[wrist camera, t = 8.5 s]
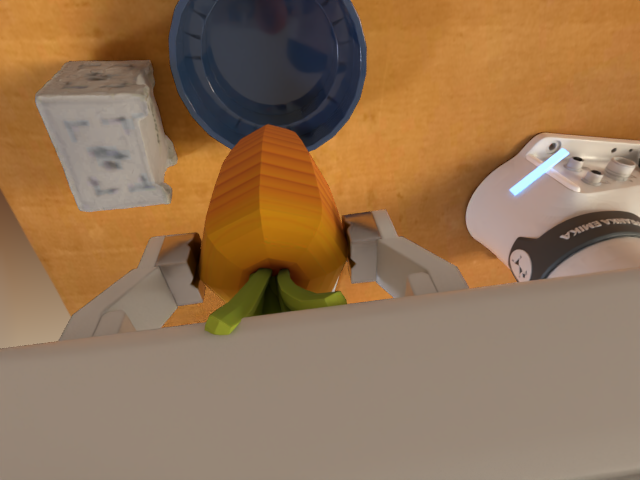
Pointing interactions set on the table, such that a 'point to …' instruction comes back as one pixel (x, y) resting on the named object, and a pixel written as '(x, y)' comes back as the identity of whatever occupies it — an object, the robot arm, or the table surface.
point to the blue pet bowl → (268, 65)
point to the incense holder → (108, 133)
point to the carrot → (271, 232)
